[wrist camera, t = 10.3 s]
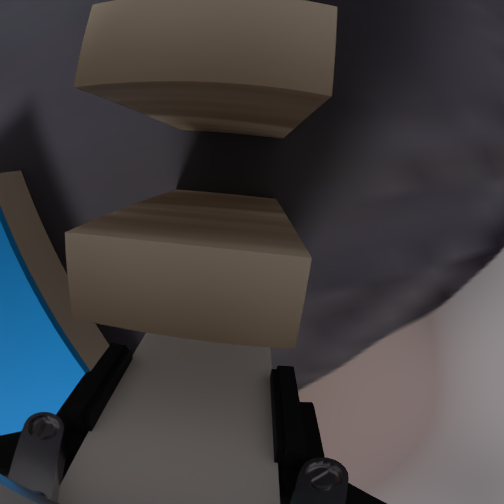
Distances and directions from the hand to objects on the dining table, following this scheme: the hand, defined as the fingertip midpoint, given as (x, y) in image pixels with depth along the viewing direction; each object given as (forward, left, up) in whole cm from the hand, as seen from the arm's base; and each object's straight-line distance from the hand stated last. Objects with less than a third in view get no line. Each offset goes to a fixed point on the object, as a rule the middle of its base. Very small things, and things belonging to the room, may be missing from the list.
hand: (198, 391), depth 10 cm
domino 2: (-5, 0, -7) cm, 9 cm away
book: (+6, -20, -8) cm, 22 cm away
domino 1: (-10, 0, -7) cm, 12 cm away
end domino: (0, 0, -4) cm, 4 cm away
